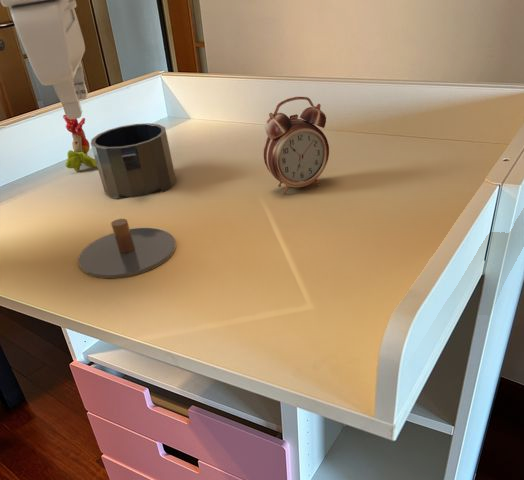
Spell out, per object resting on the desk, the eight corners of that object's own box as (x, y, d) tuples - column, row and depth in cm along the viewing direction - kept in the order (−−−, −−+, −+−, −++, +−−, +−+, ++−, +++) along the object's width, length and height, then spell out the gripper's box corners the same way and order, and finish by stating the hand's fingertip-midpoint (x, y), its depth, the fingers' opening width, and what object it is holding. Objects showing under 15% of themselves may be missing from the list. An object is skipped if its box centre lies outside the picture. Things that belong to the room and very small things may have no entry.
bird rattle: (73, 174, 123) (65, 171, 115) (60, 121, 121) (50, 113, 112) (101, 170, 124) (96, 166, 115) (89, 116, 121) (82, 108, 112)
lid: (76, 290, 79) (63, 254, 75) (84, 244, 90) (73, 210, 87) (179, 271, 80) (171, 234, 76) (174, 228, 91) (166, 194, 88)
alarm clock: (276, 199, 96) (267, 107, 87) (265, 190, 100) (256, 101, 91) (333, 184, 99) (330, 93, 89) (320, 175, 102) (317, 87, 93)
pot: (103, 211, 100) (87, 158, 94) (107, 174, 115) (94, 126, 109) (178, 198, 101) (167, 145, 95) (173, 163, 116) (163, 115, 110)
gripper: (24, -26, 70) (62, 92, 79) (-9, -12, 54) (42, 134, 62) (75, -34, 70) (107, 84, 79) (57, -22, 54) (99, 125, 63)
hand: (78, 107), depth 71 cm, fingers open, 8 cm apart
